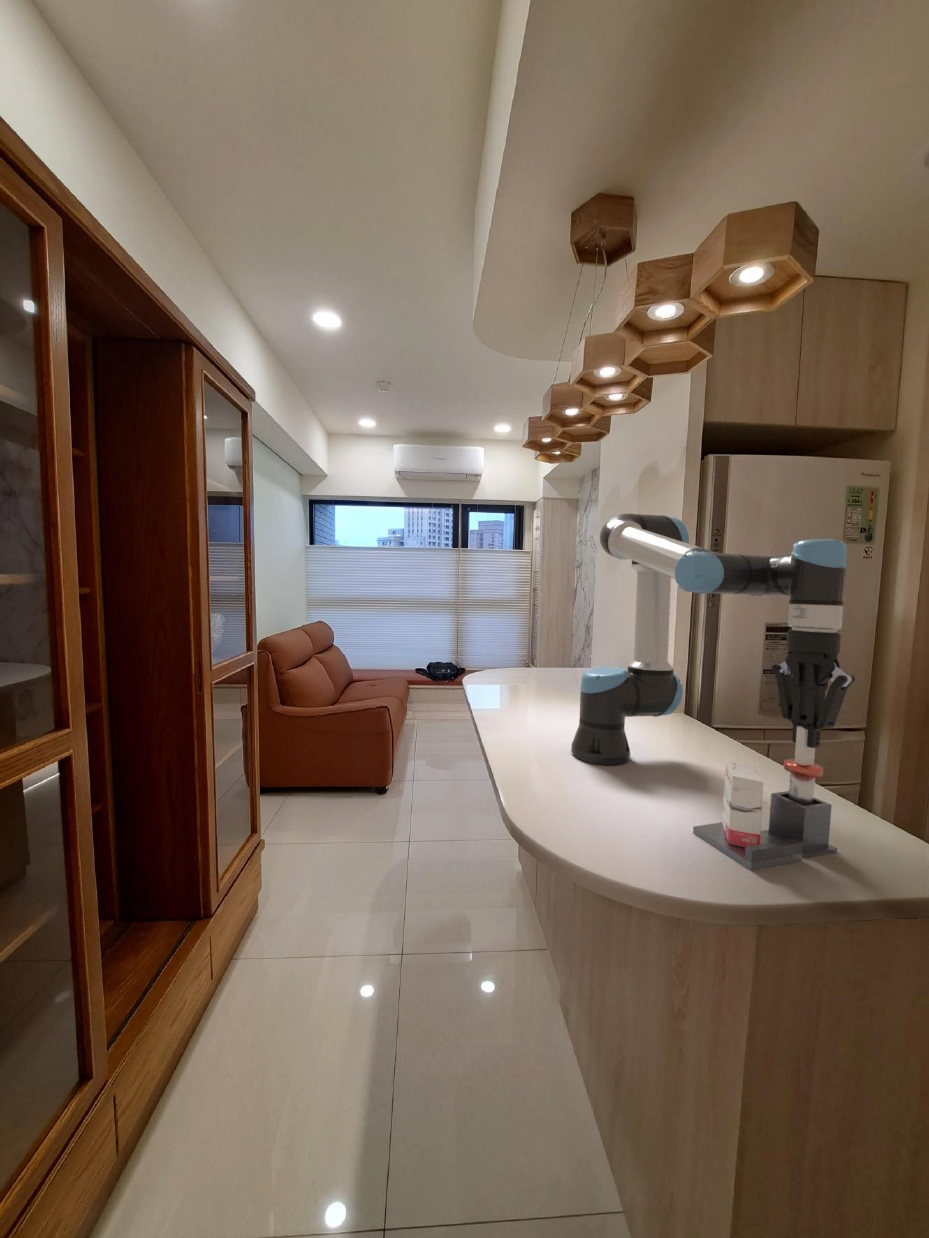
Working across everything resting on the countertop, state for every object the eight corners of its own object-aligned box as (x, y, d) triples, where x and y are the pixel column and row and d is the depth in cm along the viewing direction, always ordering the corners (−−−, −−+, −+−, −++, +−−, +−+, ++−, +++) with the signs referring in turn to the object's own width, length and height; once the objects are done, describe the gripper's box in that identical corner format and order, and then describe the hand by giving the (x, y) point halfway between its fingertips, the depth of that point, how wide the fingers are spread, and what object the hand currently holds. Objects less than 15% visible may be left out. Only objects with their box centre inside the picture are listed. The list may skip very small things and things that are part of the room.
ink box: (760, 851, 78) (765, 781, 77) (726, 844, 80) (731, 776, 79) (751, 828, 86) (755, 764, 85) (721, 822, 88) (725, 760, 87)
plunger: (773, 809, 85) (776, 760, 85) (795, 806, 87) (799, 757, 86) (803, 824, 80) (807, 771, 79) (827, 820, 82) (831, 769, 81)
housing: (760, 834, 86) (763, 791, 86) (792, 828, 89) (795, 787, 88) (803, 858, 79) (806, 811, 78) (837, 851, 81) (840, 806, 81)
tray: (693, 832, 86) (694, 815, 86) (739, 825, 89) (740, 809, 89) (750, 870, 75) (752, 850, 74) (801, 860, 78) (803, 841, 78)
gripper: (763, 626, 87) (754, 752, 88) (838, 633, 74) (827, 779, 75) (793, 627, 89) (784, 749, 90) (870, 633, 76) (859, 775, 78)
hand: (804, 763), depth 83 cm, fingers closed
